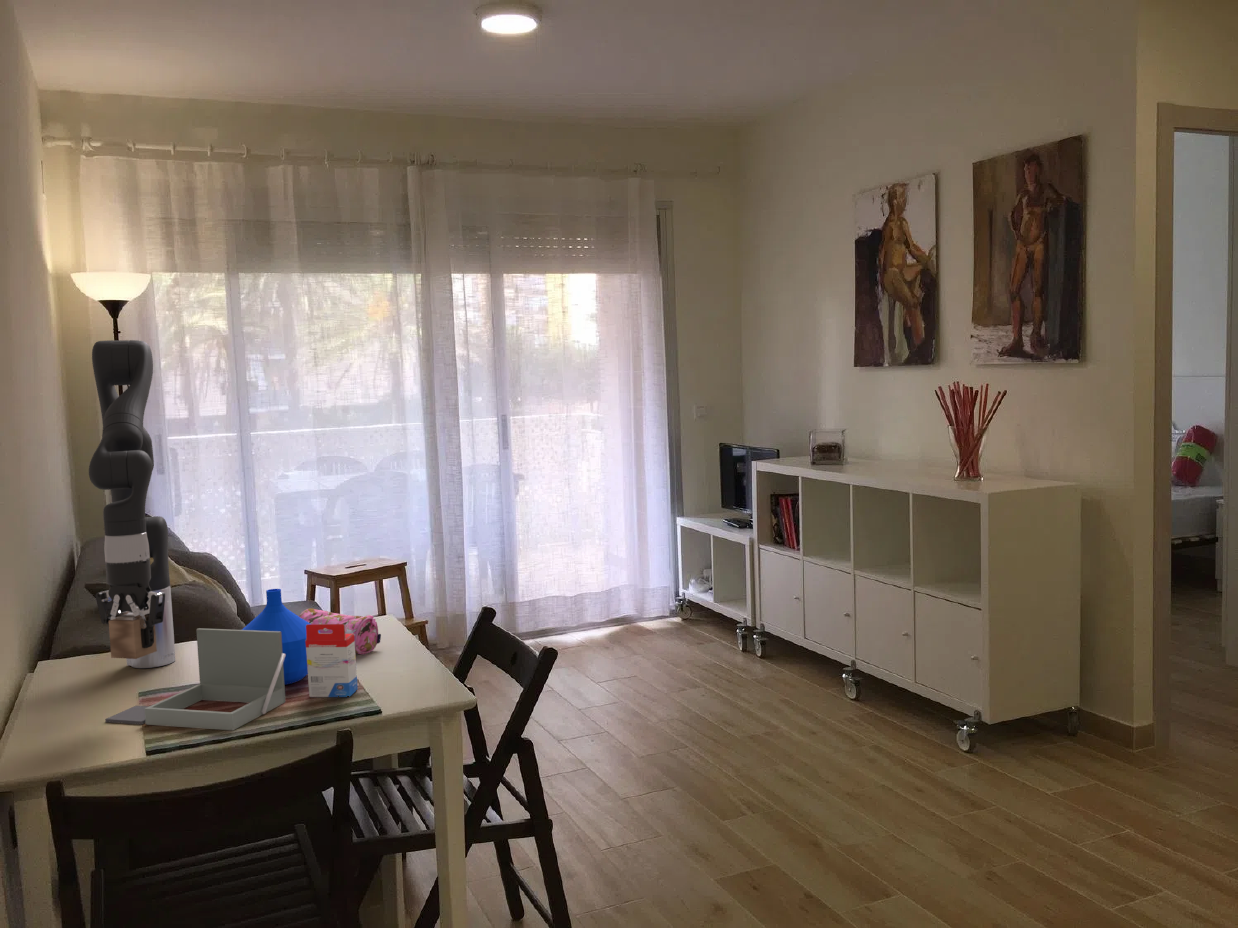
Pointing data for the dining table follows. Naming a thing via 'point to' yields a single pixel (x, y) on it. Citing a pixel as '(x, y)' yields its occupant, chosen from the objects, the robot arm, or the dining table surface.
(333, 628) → the ink box
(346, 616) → the pencil case
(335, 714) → the dining table surface
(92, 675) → the dining table surface
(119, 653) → the module
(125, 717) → the mat
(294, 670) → the blue funnel
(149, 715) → the case
